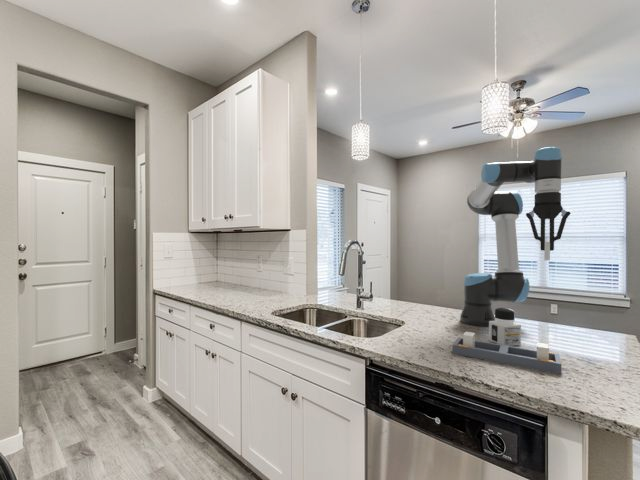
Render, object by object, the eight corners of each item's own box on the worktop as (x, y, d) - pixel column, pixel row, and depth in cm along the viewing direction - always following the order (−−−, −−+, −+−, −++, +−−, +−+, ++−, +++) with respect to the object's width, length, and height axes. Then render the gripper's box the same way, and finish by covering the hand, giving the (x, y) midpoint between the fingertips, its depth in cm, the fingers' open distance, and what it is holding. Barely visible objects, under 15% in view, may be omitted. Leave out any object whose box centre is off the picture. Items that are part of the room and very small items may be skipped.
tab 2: (536, 357, 103) (536, 342, 103) (548, 359, 101) (548, 344, 101) (536, 362, 99) (536, 346, 99) (548, 364, 97) (548, 348, 97)
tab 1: (465, 345, 115) (465, 331, 115) (474, 347, 113) (474, 332, 113) (463, 349, 111) (463, 334, 111) (472, 351, 109) (472, 336, 109)
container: (504, 346, 118) (504, 311, 118) (488, 340, 125) (488, 307, 125) (521, 345, 120) (521, 310, 120) (504, 338, 127) (504, 306, 127)
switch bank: (458, 345, 119) (458, 336, 119) (558, 363, 102) (559, 353, 102) (452, 353, 110) (452, 344, 110) (561, 374, 94) (561, 363, 94)
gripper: (525, 192, 112) (524, 259, 112) (572, 189, 105) (571, 261, 105) (525, 195, 119) (525, 258, 119) (570, 192, 111) (569, 260, 111)
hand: (547, 260), depth 112 cm, fingers closed
